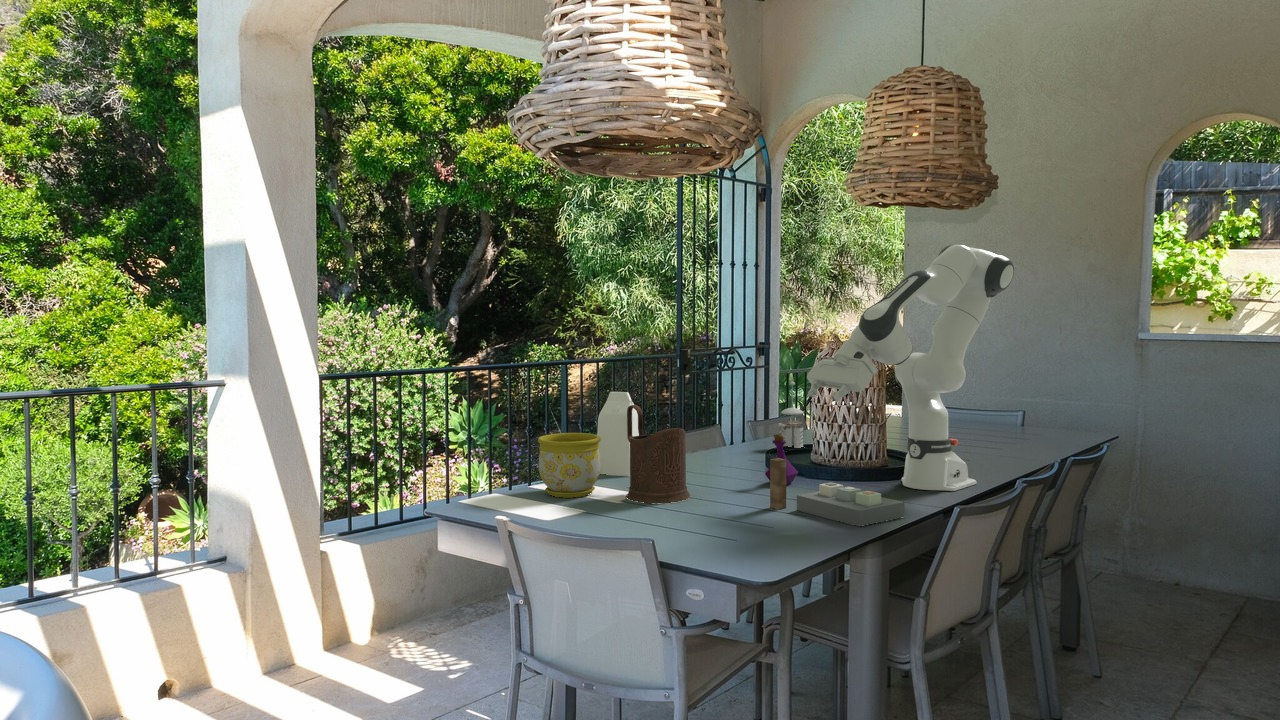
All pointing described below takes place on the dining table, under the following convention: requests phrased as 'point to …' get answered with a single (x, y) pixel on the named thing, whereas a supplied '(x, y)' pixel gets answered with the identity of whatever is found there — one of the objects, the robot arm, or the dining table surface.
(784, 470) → the brown wooden bar
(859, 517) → the keypad
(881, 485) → the dining table surface
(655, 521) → the dining table surface
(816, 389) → the robot arm
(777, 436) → the perfume bottle
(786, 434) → the french press
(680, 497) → the cup holder
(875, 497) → the key
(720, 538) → the dining table surface
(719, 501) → the dining table surface
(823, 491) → the key
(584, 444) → the flowerpot
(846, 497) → the key mid
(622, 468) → the milk
